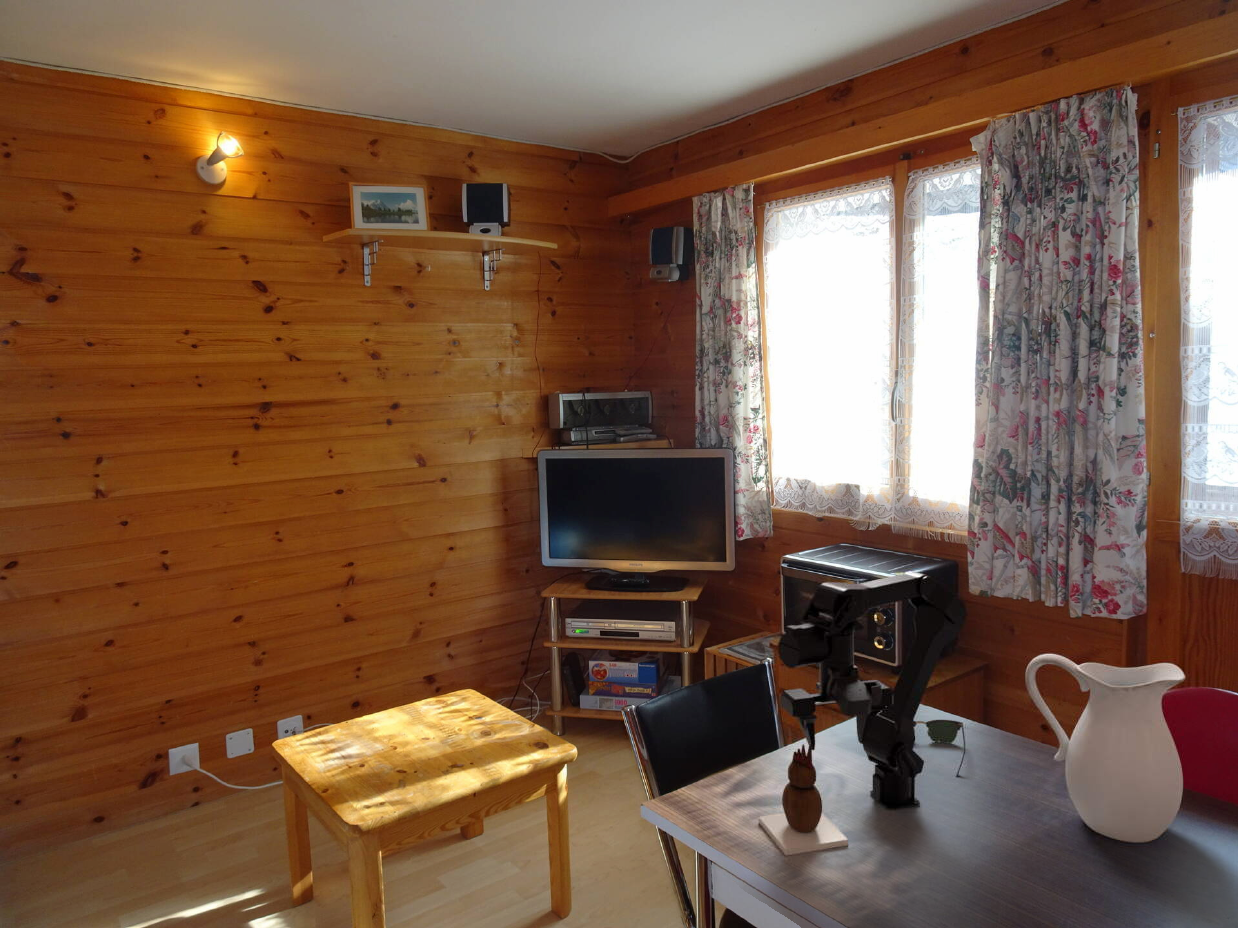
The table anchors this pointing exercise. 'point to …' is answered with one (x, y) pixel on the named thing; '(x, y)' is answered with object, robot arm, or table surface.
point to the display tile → (802, 835)
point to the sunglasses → (944, 731)
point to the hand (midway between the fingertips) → (836, 745)
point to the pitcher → (1119, 748)
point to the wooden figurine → (802, 793)
